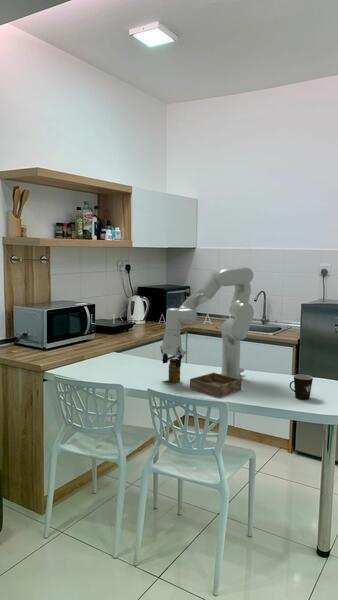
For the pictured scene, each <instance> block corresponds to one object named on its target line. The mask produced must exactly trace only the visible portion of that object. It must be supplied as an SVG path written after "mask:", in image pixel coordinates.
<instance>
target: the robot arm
mask: <svg viewBox="0 0 338 600" xmlns="http://www.w3.org/2000/svg"><path fill="white" fill-rule="evenodd" d="M253 279H254V272H253V270H252V269H251V268H249V267H247V266H234V267H232V268H231V269H228V268H227V269H224V268H223V269H222V268H218V269H217V268H216V269H215V270H213V271H212V272H211V273H210V275H209V276H208V277H207V278H206V280H205V281H204V282H203V283H202V284H201V285H200V287H199V288H198V289H197V290H195V291H194V292H193V293H192V294H191V295H189V296H188V297H187V298H186V299H185V300H184V301H183V303H182V304H181V305H180V306H179V307H178V308H177V307H170V308H167V309H166V316H165V329H164V330H165V333H164V335H163V339H162V345H160V346H159V349H160V353H161V355H162V356H161V357H162V364H168V362H169V355H170V356H174V357H175V359H176V367H180V368H181V367H182V359H184V357H185V354H186V351H185V350H184V349H183V348H182V347H183V346H182V345H183V344H182V335H181V323H183V324H184V323H185V324H192V323H195V322H196V321H197V319H198V314H197V312H196V311H195V310H196V309H197V308H198V307H199V306H201V305H202V304H204V303H207V302H210V301H211V300H212V299H213V298H214V296H215V295H216V294H217V293H218V291H220V289H222V287H232V286H233V287H234V292H233V297H232V298H231V302H230V306H229V311H228V312H229V315H231V316H232V317H233V318H234V319H226V320H225V321H224V322H223V323H222V324H221V329H220V330H221V331H220V332H221V339H222V348H221V351H222V353H221V373H220V374H221V375H225V376H229V377H233V378H237V379H240V380H242V379H243V375H242V374H241V373H243V372H245V368H243V367H242V368H241V367H240V365H241V341H242V340H245V339H246V338H247V336H248V334H249V331H250V328H251V326H252V325H251V324H252V321H253V319H254V315H255V311H254V310H255V309H254V307H253V305H252V304H251V303H249V301H250V297H251V293H252V288H251V287H252V285H251V282H252V281H253Z"/></svg>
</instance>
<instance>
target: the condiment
mask: <svg viewBox="0 0 338 600" xmlns="http://www.w3.org/2000/svg"><path fill="white" fill-rule="evenodd" d="M176 359H177V358H170V359H169V364H168V379H167V380H162V382H163V383H164V384H165V385H170V386H171V385H176V384H182V383H184V382H183V381H181V366H180V367H176Z"/></svg>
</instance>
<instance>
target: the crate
mask: <svg viewBox="0 0 338 600" xmlns="http://www.w3.org/2000/svg"><path fill="white" fill-rule="evenodd" d="M242 382H243V381H242V379H237V378H233V377H229V376H225V375H221V373H217V372H211V373H208V374H207V373H206V374H204V375H201V376H200V375H199V376H196V377H192V378H189V390H192V391H196V392H198V393H203V394H206V395H209V396H212V397H215V398H220V397H223V396H226V395H230V394H232V393H235V391H236V392H239V391H242ZM238 390H239V391H238Z"/></svg>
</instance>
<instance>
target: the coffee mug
mask: <svg viewBox="0 0 338 600" xmlns="http://www.w3.org/2000/svg"><path fill="white" fill-rule="evenodd" d="M313 379H314V377H313V376H312V375H307V374H301V373H300V374H294V375H293V380H291V381H290V383H289V388H290V390H291V391H292V392H294V396H295V397H294V398H295V399H297V400H301V401H307V400H310V397H311V391H312V385H313V381H314V380H313ZM292 384H294V389H293V387H292Z"/></svg>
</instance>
